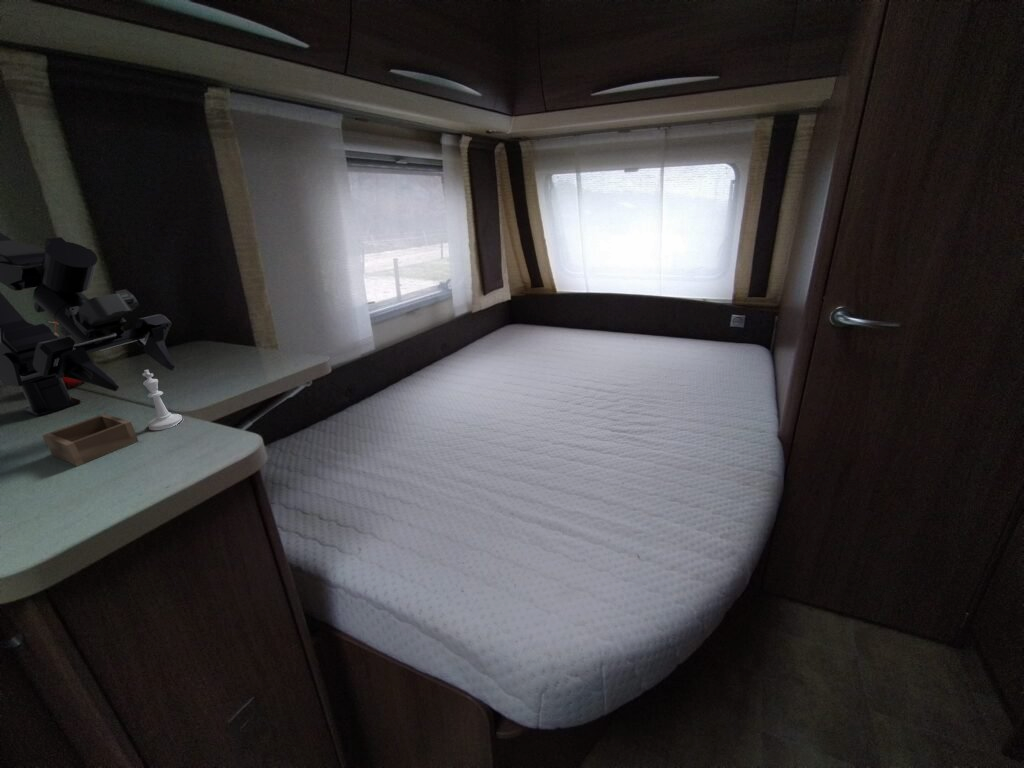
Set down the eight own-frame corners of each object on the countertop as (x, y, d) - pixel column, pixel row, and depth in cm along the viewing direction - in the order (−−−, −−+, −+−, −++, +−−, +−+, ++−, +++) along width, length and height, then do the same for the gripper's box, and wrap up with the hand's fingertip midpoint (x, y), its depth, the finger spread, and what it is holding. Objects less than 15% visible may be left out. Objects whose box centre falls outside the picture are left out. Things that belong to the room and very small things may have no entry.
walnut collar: (52, 455, 69) (42, 435, 68) (112, 432, 76) (104, 413, 74) (77, 466, 66) (67, 445, 64) (138, 441, 72) (130, 421, 71)
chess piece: (165, 431, 75) (144, 376, 71) (141, 429, 76) (119, 375, 72) (190, 418, 80) (171, 365, 76) (167, 416, 81) (147, 364, 77)
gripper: (7, 288, 62) (93, 367, 63) (145, 268, 78) (211, 331, 79) (0, 340, 67) (79, 413, 68) (130, 311, 84) (193, 370, 85)
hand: (146, 378), depth 75 cm, fingers open, 9 cm apart
